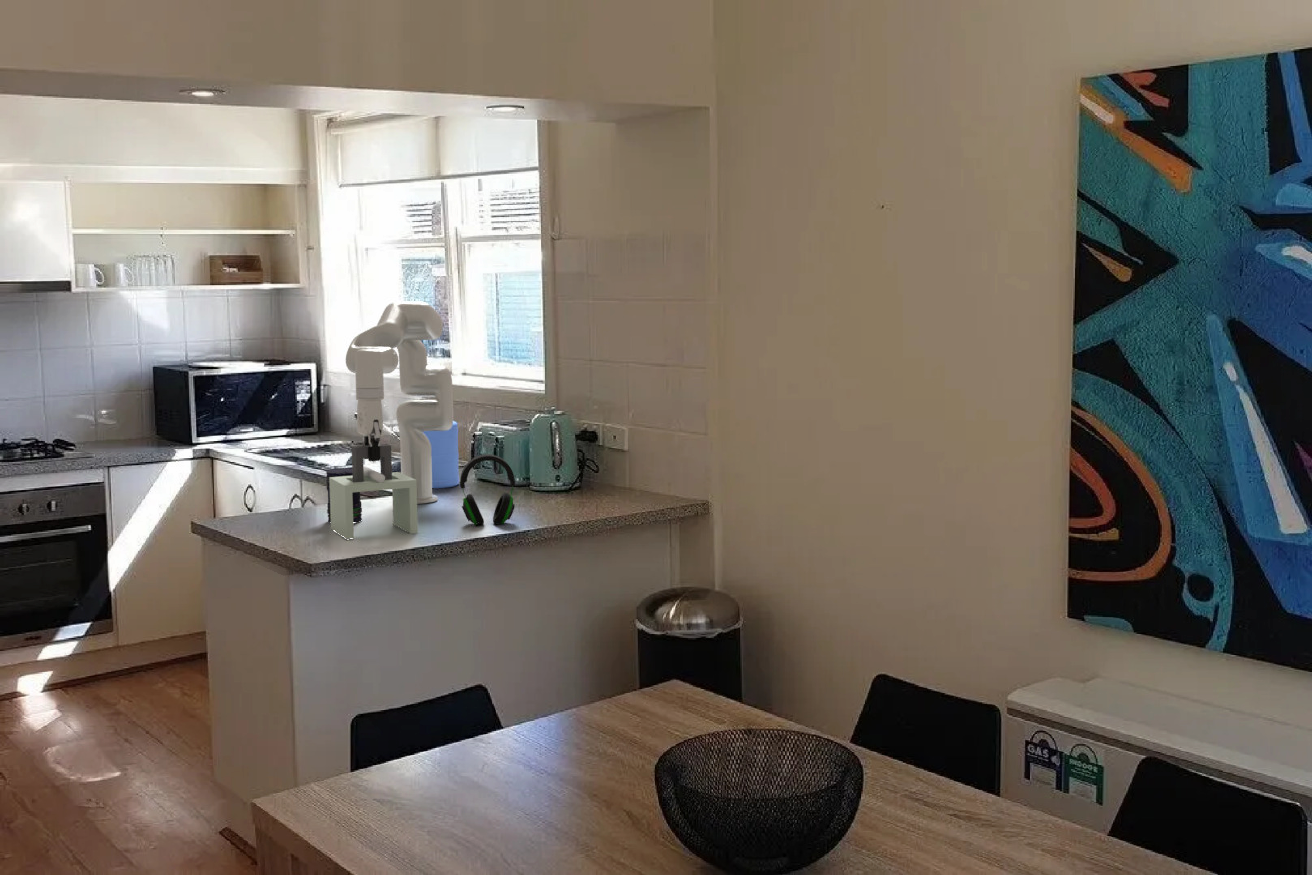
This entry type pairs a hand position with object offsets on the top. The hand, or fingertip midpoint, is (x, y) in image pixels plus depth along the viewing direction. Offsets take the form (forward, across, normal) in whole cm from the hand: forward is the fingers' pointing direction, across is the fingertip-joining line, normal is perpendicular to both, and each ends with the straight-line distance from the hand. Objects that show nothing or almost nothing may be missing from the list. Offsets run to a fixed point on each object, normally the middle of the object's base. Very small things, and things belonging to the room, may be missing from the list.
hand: (371, 459), depth 388 cm
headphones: (+21, +5, +32) cm, 38 cm away
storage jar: (+21, -19, -3) cm, 28 cm away
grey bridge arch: (+7, 0, 0) cm, 7 cm away
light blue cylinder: (+20, -67, +41) cm, 81 cm away
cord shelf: (+20, 0, 0) cm, 20 cm away
